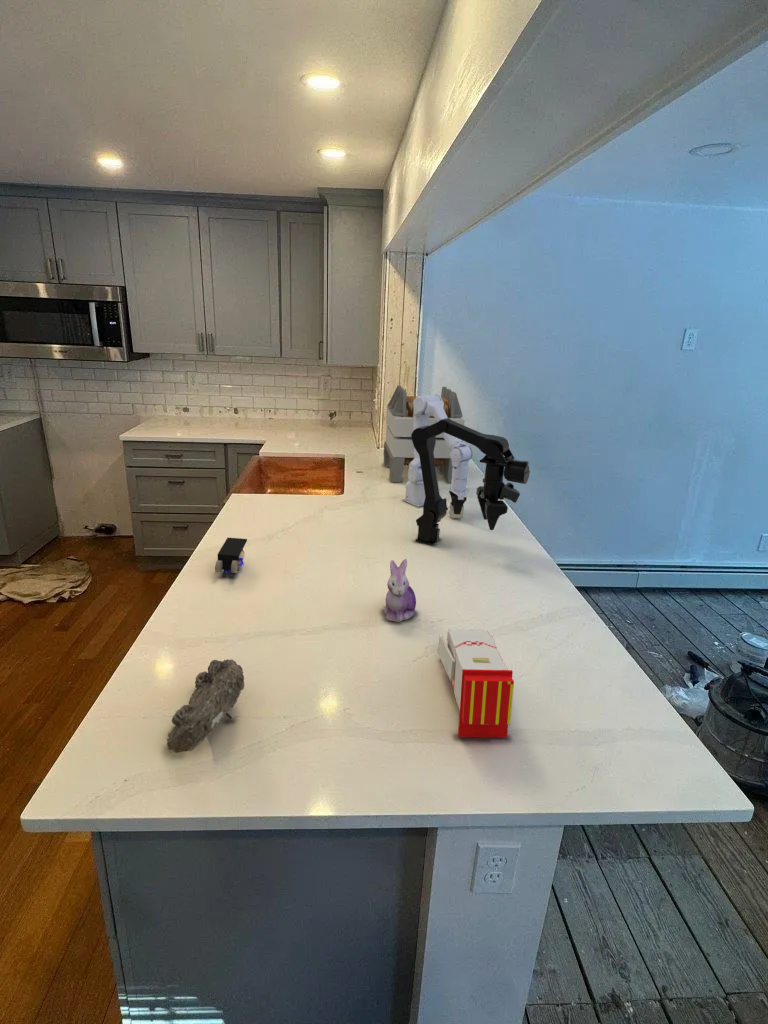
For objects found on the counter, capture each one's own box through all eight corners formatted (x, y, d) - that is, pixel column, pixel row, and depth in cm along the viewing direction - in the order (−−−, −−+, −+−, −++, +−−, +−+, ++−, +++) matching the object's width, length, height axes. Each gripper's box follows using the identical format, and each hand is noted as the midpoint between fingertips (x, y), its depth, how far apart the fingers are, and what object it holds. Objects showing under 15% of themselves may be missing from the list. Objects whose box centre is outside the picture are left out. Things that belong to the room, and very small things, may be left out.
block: (450, 517, 215) (451, 505, 213) (449, 513, 219) (450, 502, 217) (462, 517, 215) (464, 506, 213) (461, 514, 219) (462, 502, 217)
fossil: (192, 660, 117) (244, 628, 112) (224, 691, 120) (276, 661, 115) (142, 746, 98) (202, 712, 93) (182, 779, 101) (242, 748, 96)
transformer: (382, 463, 289) (386, 382, 275) (445, 464, 293) (451, 384, 279) (390, 482, 257) (394, 392, 243) (460, 483, 261) (468, 394, 247)
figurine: (392, 627, 141) (395, 572, 136) (374, 608, 149) (376, 556, 144) (425, 619, 145) (429, 566, 140) (405, 601, 154) (408, 550, 149)
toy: (488, 613, 130) (523, 677, 101) (484, 667, 133) (517, 744, 104) (435, 612, 130) (455, 676, 101) (432, 666, 133) (451, 743, 103)
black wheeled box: (238, 584, 162) (249, 557, 175) (236, 562, 158) (247, 536, 172) (215, 584, 161) (227, 556, 175) (212, 561, 158) (225, 535, 171)
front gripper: (527, 487, 168) (520, 536, 173) (512, 470, 186) (506, 515, 191) (490, 486, 168) (484, 535, 173) (478, 469, 185) (473, 514, 191)
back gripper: (473, 483, 205) (469, 518, 210) (466, 472, 219) (463, 505, 223) (454, 483, 205) (450, 518, 209) (448, 472, 218) (445, 505, 223)
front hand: (488, 524), depth 182 cm, fingers open, 9 cm apart
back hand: (456, 511), depth 216 cm, fingers closed on block, 4 cm apart
